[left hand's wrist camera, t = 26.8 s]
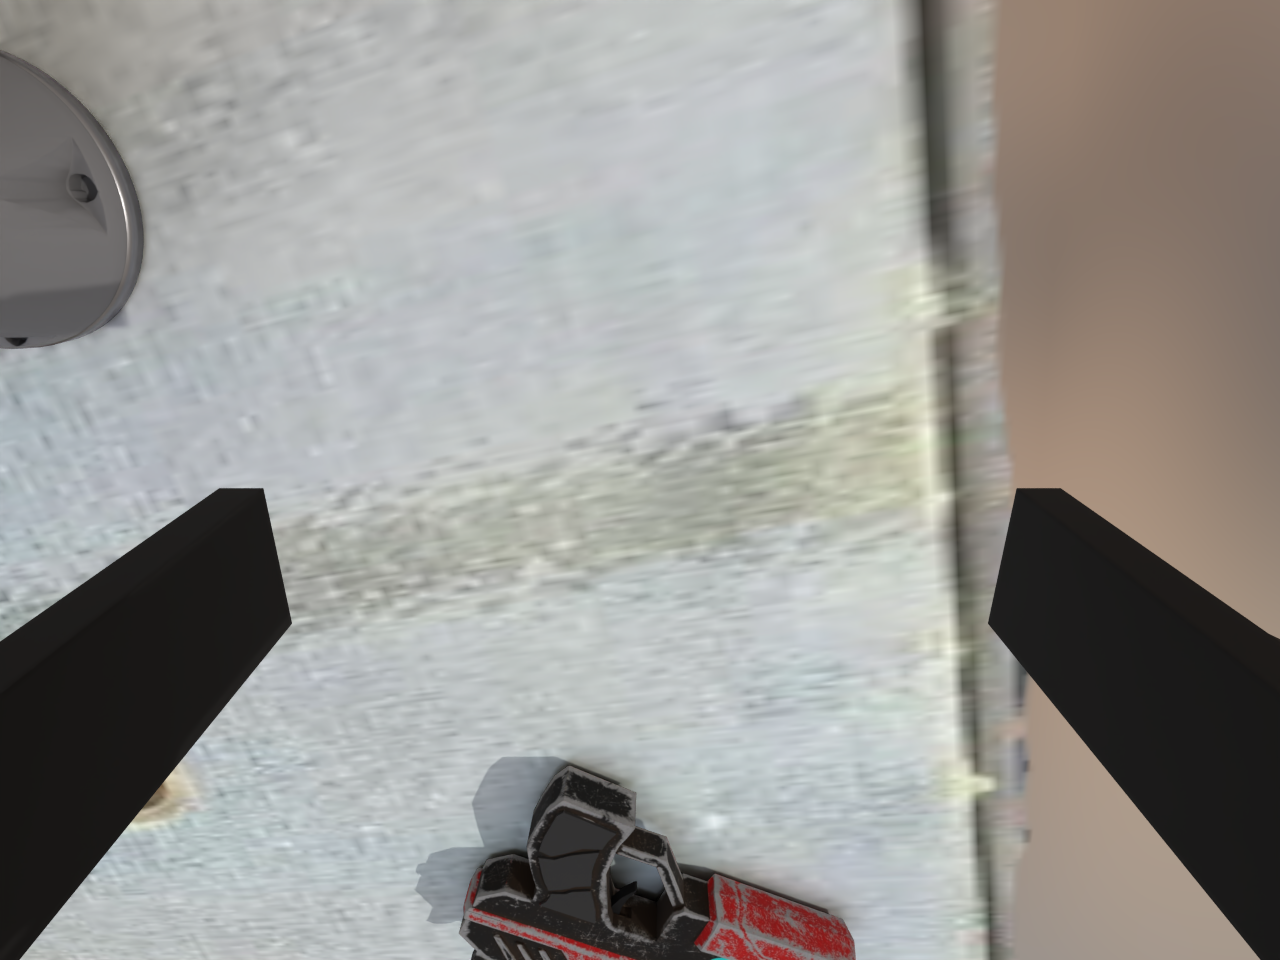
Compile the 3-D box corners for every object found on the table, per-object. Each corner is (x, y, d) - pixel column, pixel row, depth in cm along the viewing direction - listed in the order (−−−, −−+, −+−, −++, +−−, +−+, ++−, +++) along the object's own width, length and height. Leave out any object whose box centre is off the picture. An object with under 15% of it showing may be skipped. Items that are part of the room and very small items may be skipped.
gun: (523, 794, 48) (437, 964, 55) (916, 930, 53) (790, 1072, 60) (534, 746, 53) (453, 909, 60) (897, 875, 57) (782, 1014, 64)
